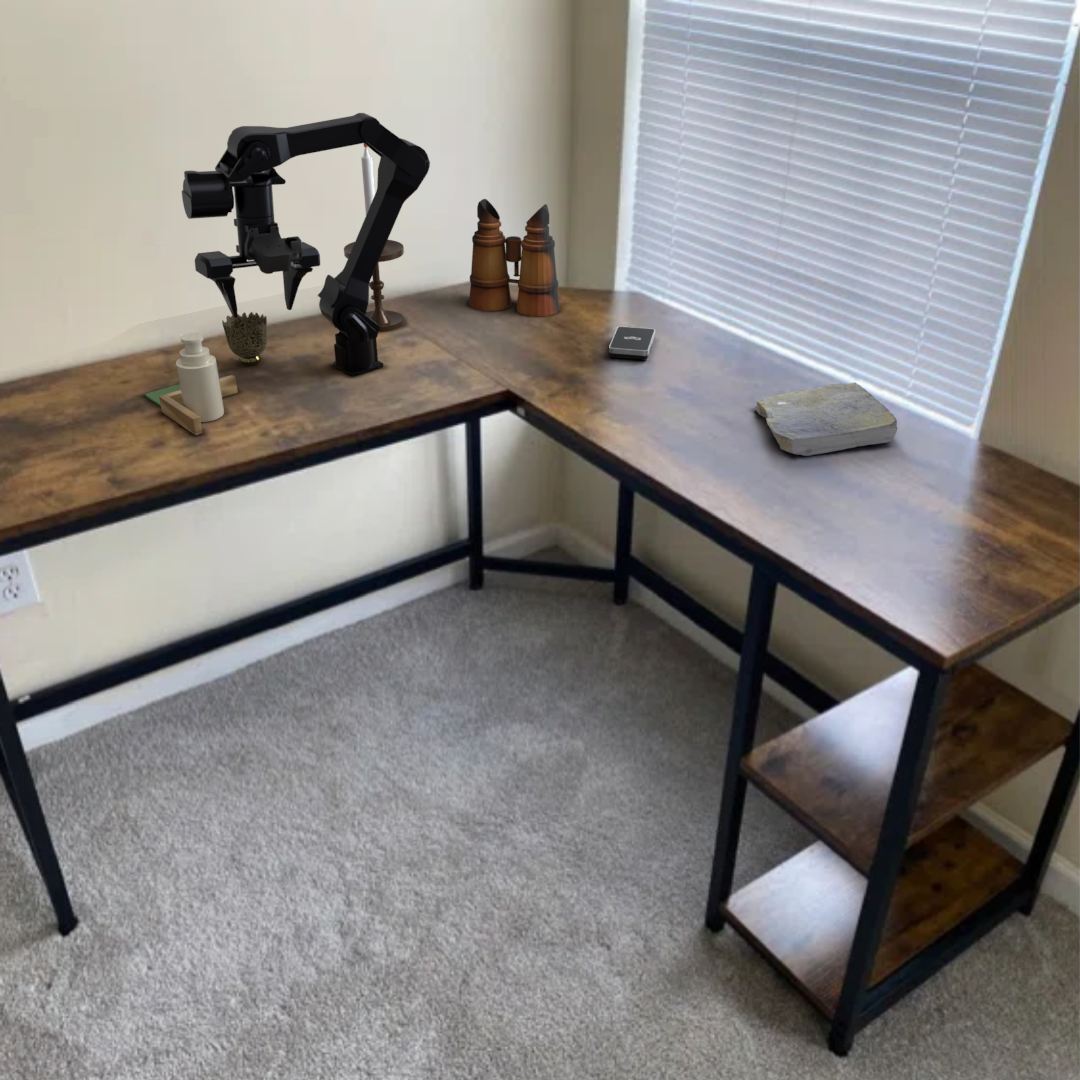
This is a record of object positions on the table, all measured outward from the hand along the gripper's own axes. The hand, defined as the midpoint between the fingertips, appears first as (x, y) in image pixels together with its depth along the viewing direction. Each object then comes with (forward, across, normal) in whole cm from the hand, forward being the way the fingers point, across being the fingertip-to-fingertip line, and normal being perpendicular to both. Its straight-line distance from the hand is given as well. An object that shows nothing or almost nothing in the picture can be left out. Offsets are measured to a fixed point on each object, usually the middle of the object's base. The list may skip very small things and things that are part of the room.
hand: (262, 313), depth 180 cm
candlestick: (+10, +29, +16) cm, 35 cm away
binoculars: (+9, +55, +9) cm, 57 cm away
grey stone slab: (+10, +63, -64) cm, 90 cm away
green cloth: (+13, -12, +6) cm, 19 cm away
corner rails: (+13, -10, -4) cm, 17 cm away
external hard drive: (+9, +60, -22) cm, 65 cm away
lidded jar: (+14, -12, -4) cm, 19 cm away
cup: (+12, +2, +12) cm, 17 cm away
